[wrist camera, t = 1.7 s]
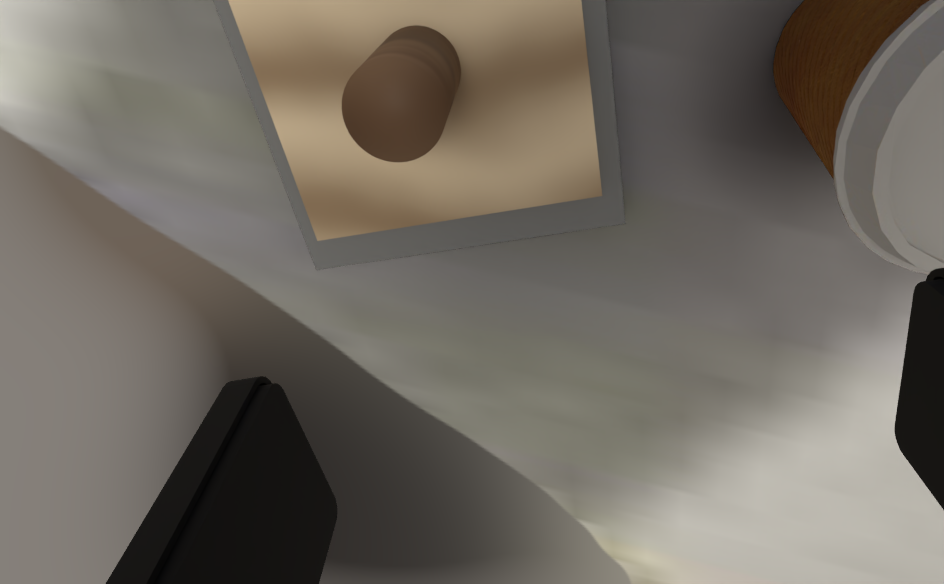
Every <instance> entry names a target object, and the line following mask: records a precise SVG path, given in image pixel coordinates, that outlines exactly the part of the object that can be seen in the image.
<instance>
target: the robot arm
mask: <svg viewBox="0 0 944 584" xmlns="http://www.w3.org/2000/svg"><path fill="white" fill-rule="evenodd" d="M895 436H896V440H897V443H898V446H899V448H900V450H901V452H902V453H903V455H904V456H905V458H906V459H907V460H908V462H909V463H910V464H911V466H912V467H913V468H914V470H915V471H916V473H917V474H918V475H919V477H920V478H921V479H922V481H923V482H924V483H925V485H926V486H927V488H928V489H929V490H930V492H931V493H932V494H933V496H934V497H935V498H936V500H937V501H938V503H939V504H940V505H941V507H942V508H943V509H944V268H938V269H934V270H933V271H931V272H930V273H929V275H928V276H927V279H926V281H924V282H920V283H918V284H917V286H916V287H915V290H914V294H913V301H912V308H911V315H910V322H909V329H908V336H907V343H906V350H905V358H904V365H903V372H902V379H901V386H900V393H899V400H898V407H897V414H896V421H895ZM336 520H337V504H336V499H335V497H334V494H333V492H332V490H331V488H330V486H329V484H328V482H327V480H326V478H325V475H324V473H323V471H322V469H321V467H320V465H319V463H318V461H317V459H316V457H315V455H314V453H313V451H312V449H311V446H310V444H309V442H308V440H307V438H306V436H305V434H304V432H303V430H302V428H301V426H300V423H299V421H298V419H297V417H296V415H295V413H294V411H293V409H292V407H291V405H290V403H289V401H288V399H287V397H286V395H285V392H284V390H283V389H282V387H281V386H280V385H279V384H276V383H275V384H272V383H271V381H270V380H269V379H268V378H266V377H263V376H260V377H254V378H248V379H242V380H236V381H230V382H228V383H226V385H225V386H224V387H223V388H222V390H221V392H220V394H219V395H218V397H217V399H216V400H215V402H214V404H213V405H212V407H211V409H210V410H209V412H208V414H207V415H206V417H205V419H204V420H203V422H202V424H201V425H200V427H199V429H198V430H197V432H196V434H195V435H194V437H193V439H192V441H191V442H190V444H189V445H188V447H187V449H186V450H185V452H184V454H183V456H182V457H181V459H180V460H179V462H178V464H177V465H176V467H175V469H174V470H173V472H172V474H171V475H170V477H169V479H168V480H167V482H166V484H165V485H164V487H163V489H162V490H161V492H160V494H159V496H158V497H157V499H156V501H155V502H154V504H153V506H152V507H151V509H150V511H149V512H148V514H147V515H146V517H145V519H144V521H143V522H142V524H141V526H140V527H139V529H138V531H137V532H136V534H135V536H134V537H133V539H132V541H131V542H130V544H129V546H128V547H127V549H126V551H125V552H124V554H123V556H122V557H121V559H120V561H119V562H118V564H117V566H116V567H115V569H114V571H113V572H112V574H111V576H110V577H109V579H108V581H107V582H106V584H319V581H320V577H321V574H322V570H323V566H324V563H325V560H326V556H327V552H328V549H329V545H330V541H331V538H332V534H333V531H334V527H335V523H336Z"/></svg>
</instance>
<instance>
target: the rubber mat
mask: <svg viewBox="0 0 944 584" xmlns="http://www.w3.org/2000/svg"><path fill="white" fill-rule="evenodd" d="M213 1H214V4H215V7H216V9H217V12H218V15H219V17H220V20H221V22H222V25H223V28H224V30H225V33H226V35H227V38H228V41H229V43H230V46H231V49H232V51H233V54H234V56H235V59H236V62H237V64H238V67H239V69H240V72H241V75H242V77H243V80H244V82H245V85H246V88H247V90H248V93H249V96H250V98H251V101H252V103H253V106H254V109H255V111H256V114H257V116H258V119H259V122H260V124H261V127H262V130H263V132H264V135H265V137H266V140H267V143H268V145H269V148H270V150H271V153H272V156H273V158H274V161H275V163H276V166H277V169H278V171H279V174H280V177H281V179H282V182H283V184H284V187H285V190H286V192H287V195H288V197H289V200H290V203H291V205H292V208H293V210H294V213H295V216H296V218H297V221H298V224H299V226H300V229H301V231H302V234H303V237H304V239H305V242H306V244H307V247H308V250H309V252H310V255H311V258H312V260H313V263H314V265H315V268H316V270H321V269H327V268H334V267H341V266H347V265H354V264H361V263H367V262H374V261H381V260H387V259H394V258H401V257H407V256H414V255H421V254H427V253H434V252H441V251H447V250H454V249H461V248H467V247H474V246H481V245H487V244H494V243H501V242H507V241H514V240H521V239H527V238H534V237H541V236H547V235H554V234H561V233H567V232H574V231H581V230H587V229H594V228H600V227H607V226H614V225H620V224H626V223H625V212H624V201H623V189H622V178H621V167H620V156H619V144H618V133H617V122H616V111H615V99H614V88H613V77H612V66H611V54H610V43H609V32H608V21H607V9H606V0H581V2H582V11H583V20H584V30H585V39H586V48H587V58H588V67H589V76H590V86H591V95H592V104H593V114H594V123H595V132H596V142H597V151H598V160H599V170H600V179H601V188H602V196H599V197H592V198H586V199H580V200H573V201H567V202H561V203H554V204H548V205H542V206H536V207H529V208H523V209H517V210H510V211H504V212H498V213H491V214H485V215H479V216H472V217H466V218H460V219H453V220H447V221H441V222H434V223H428V224H422V225H415V226H409V227H403V228H396V229H390V230H384V231H378V232H371V233H365V234H359V235H352V236H346V237H340V238H333V239H327V240H321V241H317V238H316V236H315V233H314V230H313V227H312V225H311V222H310V219H309V217H308V214H307V211H306V209H305V206H304V203H303V201H302V198H301V195H300V193H299V190H298V187H297V184H296V182H295V179H294V176H293V174H292V171H291V168H290V166H289V163H288V160H287V158H286V155H285V152H284V149H283V147H282V144H281V141H280V139H279V136H278V133H277V131H276V128H275V125H274V123H273V120H272V117H271V114H270V112H269V109H268V106H267V104H266V101H265V98H264V96H263V93H262V90H261V88H260V85H259V82H258V79H257V77H256V74H255V71H254V69H253V66H252V63H251V61H250V58H249V55H248V53H247V50H246V47H245V44H244V42H243V39H242V36H241V34H240V31H239V28H238V26H237V23H236V20H235V18H234V15H233V12H232V9H231V7H230V4H229V1H228V0H213Z"/></svg>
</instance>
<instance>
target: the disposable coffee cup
mask: <svg viewBox="0 0 944 584" xmlns="http://www.w3.org/2000/svg"><path fill="white" fill-rule="evenodd" d="M773 73H774V79H775V85H776V88H777V91H778V93H779V96H780V98H781V99H782V101H783V102H784V104H785V105H786V107H787V108H788V110H789V111H790V113H791V115H792V116H793V118H794V119H795V121H796V122H797V124H798V125H799V127H800V128H801V130H802V132H803V133H804V134H805V136H806V138H807V139H808V141H809V142H810V144H811V145H812V147H813V148H814V150H815V152H816V153H817V155H818V156H819V158H820V159H821V161H822V162H823V164H824V165H825V167H826V168H827V170H828V171H829V173H830V175H831V176H832V178H833V179H834V187H835V191H836V195H837V199H838V203H839V206H840V208H841V210H842V212H843V215H844V217H845V219H846V221H847V223H848V225H849V227H850V228H851V229H852V230H853V231H854V233H855V234H856V235H857V236H858V237H859V238H860V239H861V241H862V242H863V243H864V244H865V245H866V246H867V247H868V249H870V250H871V251H873V252H874V253H876V254H877V255H879V256H881V257H882V258H884V259H885V260H887V261H888V262H890V263H892V264H895V265H898V266H900V267H903V268H906V269H908V270H911V271H914V272H919V273H925V274H929V273H930V272H931V271H933V270H934V269H938V268H944V0H804V1H803V3H802V4H801V5H800V6H799V7H798V8H797V9H796V11H795V12H794V13H793V14H792V16H791V17H790V19H789V21H788V22H787V24H786V25H785V27H784V29H783V31H782V34H781V36H780V39H779V42H778V44H777V47H776V52H775V57H774V67H773Z"/></svg>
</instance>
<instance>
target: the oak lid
mask: <svg viewBox="0 0 944 584" xmlns="http://www.w3.org/2000/svg"><path fill="white" fill-rule="evenodd" d="M228 1H229V4H230V7H231V9H232V12H233V15H234V18H235V20H236V23H237V26H238V28H239V31H240V34H241V36H242V39H243V42H244V44H245V47H246V50H247V53H248V55H249V58H250V61H251V63H252V66H253V69H254V71H255V74H256V77H257V79H258V82H259V85H260V88H261V90H262V93H263V96H264V98H265V101H266V104H267V106H268V109H269V112H270V114H271V117H272V120H273V123H274V125H275V128H276V131H277V133H278V136H279V139H280V141H281V144H282V147H283V149H284V152H285V155H286V158H287V160H288V163H289V166H290V168H291V171H292V174H293V176H294V179H295V182H296V184H297V187H298V190H299V193H300V195H301V198H302V201H303V203H304V206H305V209H306V211H307V214H308V217H309V219H310V222H311V225H312V227H313V230H314V233H315V236H316V238H317V241H321V240H327V239H333V238H340V237H346V236H352V235H359V234H365V233H371V232H378V231H384V230H390V229H396V228H403V227H409V226H415V225H422V224H428V223H434V222H441V221H447V220H453V219H460V218H466V217H472V216H479V215H485V214H491V213H498V212H504V211H510V210H517V209H523V208H529V207H536V206H542V205H548V204H554V203H561V202H567V201H573V200H580V199H586V198H592V197H599V196H602V188H601V179H600V170H599V160H598V151H597V142H596V132H595V123H594V114H593V104H592V95H591V86H590V76H589V67H588V58H587V48H586V39H585V30H584V20H583V11H582V2H581V0H228Z"/></svg>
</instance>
